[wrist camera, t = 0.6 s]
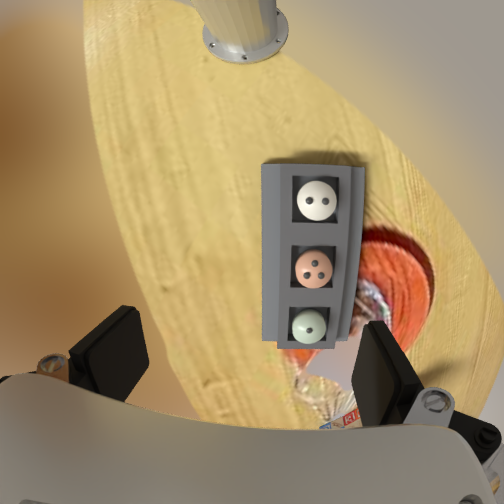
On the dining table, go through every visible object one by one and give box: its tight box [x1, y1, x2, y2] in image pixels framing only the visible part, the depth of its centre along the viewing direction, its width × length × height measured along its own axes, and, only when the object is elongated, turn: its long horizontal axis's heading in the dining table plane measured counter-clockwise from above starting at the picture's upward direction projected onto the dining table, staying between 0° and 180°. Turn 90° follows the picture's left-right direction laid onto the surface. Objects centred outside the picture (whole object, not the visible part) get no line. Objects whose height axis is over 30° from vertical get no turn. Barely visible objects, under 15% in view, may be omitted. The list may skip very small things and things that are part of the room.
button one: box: [292, 309, 326, 344], centre depth 38 cm, size 5×5×2 cm
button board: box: [261, 163, 365, 349], centre depth 38 cm, size 27×14×4 cm, turn 1°
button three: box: [295, 249, 332, 288], centre depth 36 cm, size 5×5×2 cm
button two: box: [297, 181, 337, 221], centre depth 33 cm, size 5×5×2 cm
